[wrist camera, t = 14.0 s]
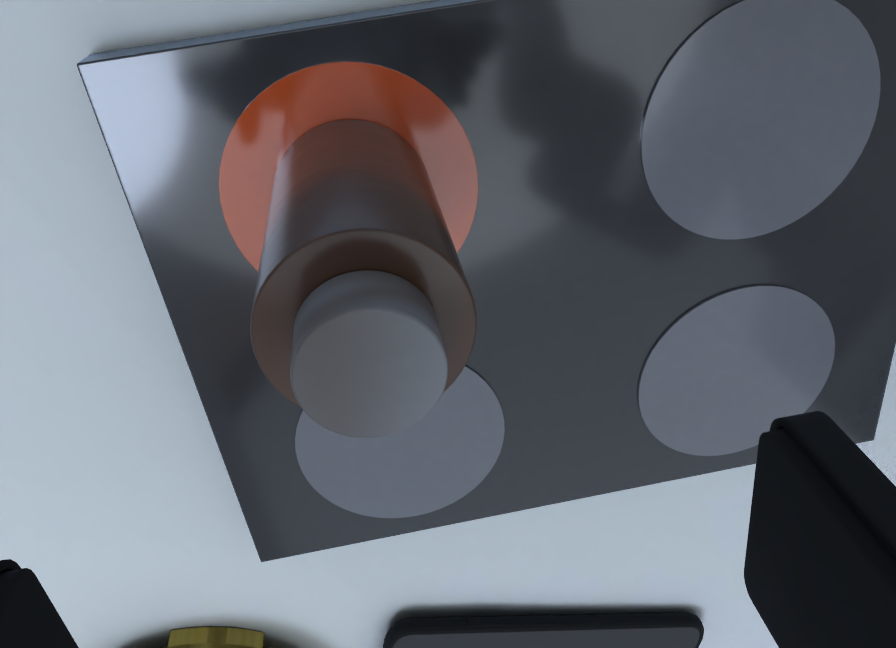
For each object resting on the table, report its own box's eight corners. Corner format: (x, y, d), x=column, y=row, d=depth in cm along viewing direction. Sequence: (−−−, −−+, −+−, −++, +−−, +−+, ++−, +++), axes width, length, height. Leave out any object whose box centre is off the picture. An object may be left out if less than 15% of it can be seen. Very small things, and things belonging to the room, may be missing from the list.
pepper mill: (418, 106, 20) (479, 243, 12) (439, 253, 22) (502, 447, 14) (254, 133, 20) (210, 291, 12) (293, 279, 22) (277, 491, 14)
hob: (959, -82, 21) (995, -80, 20) (855, 421, 30) (876, 442, 29) (88, 54, 19) (74, 64, 18) (262, 538, 29) (260, 564, 28)
